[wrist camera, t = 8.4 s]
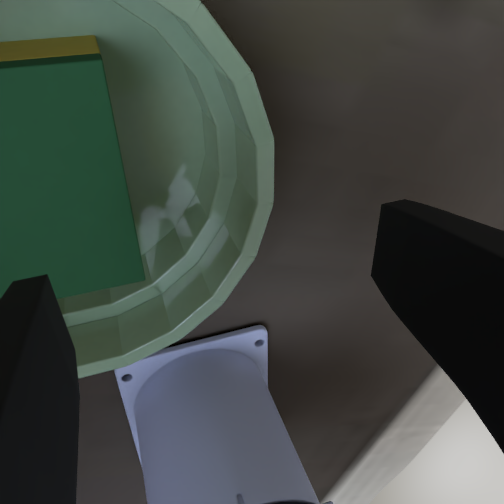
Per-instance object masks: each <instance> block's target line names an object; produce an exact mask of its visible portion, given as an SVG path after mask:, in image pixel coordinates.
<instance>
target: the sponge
mask: <svg viewBox="0 0 504 504" xmlns="http://www.w3.org/2000/svg"><path fill="white" fill-rule="evenodd" d="M45 274H48V277H49V280H50V283H51V285H52V288H53V291H54V293H55V296H56V299H60V298H65V297H70V296H75V295H79V294H84V293H89V292H93V291H98V290H103V289H108V288H112V287H117V286H122V285H126V284H131V283H136V282H140V281H145V279H146V278H145V273H144V268H143V263H142V258H141V253H140V248H139V243H138V238H137V233H136V227H135V222H134V217H133V212H132V207H131V202H130V197H129V192H128V187H127V182H126V177H125V171H124V166H123V161H122V156H121V151H120V146H119V141H118V136H117V131H116V126H115V120H114V115H113V110H112V105H111V100H110V95H109V90H108V85H107V80H106V75H105V70H104V64H103V60H102V57H101V53H100V50H99V47H98V43H97V40H96V37H95V35H86V36H73V37H60V38H46V39H33V40H20V41H7V42H0V299H1V297H2V296H3V294H4V293H5V292H6V290H7V289H8V287H9V286H10V285H11V283H12V282H13V281H17V280H21V279H26V278H31V277H36V276H41V275H45Z"/></svg>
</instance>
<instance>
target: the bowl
mask: <svg viewBox="0 0 504 504" xmlns="http://www.w3.org/2000/svg"><path fill="white" fill-rule="evenodd" d="M86 35H95V37H96V40H97V43H98V47H99V50H100V53H101V57H102V60H103V64H104V70H105V75H106V80H107V85H108V90H109V95H110V100H111V105H112V110H113V115H114V120H115V126H116V131H117V136H118V141H119V146H120V151H121V156H122V161H123V166H124V171H125V177H126V182H127V187H128V192H129V197H130V202H131V207H132V212H133V217H134V222H135V227H136V233H137V238H138V243H139V248H140V253H141V258H142V263H143V268H144V273H145V278H146V279H145V281H140V282H136V283H131V284H126V285H122V286H117V287H112V288H108V289H103V290H98V291H93V292H89V293H84V294H79V295H75V296H70V297H65V298H60V299H57V301H58V304H59V307H60V310H61V312H62V315H63V318H64V320H65V323H66V326H67V329H68V331H69V334H70V337H71V339H72V342H73V345H74V347H75V352H76V361H77V371H78V379H79V378H83V377H87V376H91V375H95V374H99V373H103V372H107V371H110V370H114V369H118V368H122V367H126V366H128V365H131V364H133V363H135V362H137V361H139V360H141V359H143V358H145V357H147V356H149V355H151V354H153V353H155V352H157V351H159V350H161V349H163V348H165V347H167V346H169V345H171V344H173V343H175V342H177V341H179V340H180V339H182V338H183V337H185V336H186V335H187V334H188V333H189V332H190V331H192V330H193V329H194V328H195V327H196V326H198V325H199V324H200V323H201V322H202V321H204V320H205V319H206V318H207V317H208V316H210V315H211V314H212V313H213V312H214V311H215V310H217V309H218V308H219V307H220V306H221V305H223V302H225V301H226V299H227V298H228V297H229V295H230V294H231V292H232V291H233V289H234V288H235V287H236V285H237V284H238V282H239V281H240V279H241V278H242V277H243V275H244V274H245V272H246V271H247V269H248V268H249V267H250V265H251V264H252V262H253V261H254V259H255V257H256V255H257V252H258V249H259V246H260V243H261V240H262V237H263V234H264V231H265V228H266V225H267V222H268V219H269V216H270V213H271V210H272V207H273V202H274V136H273V133H272V130H271V127H270V124H269V121H268V118H267V115H266V112H265V108H264V105H263V102H262V99H261V96H260V93H259V90H258V87H257V84H256V80H255V77H254V74H253V72H251V69H250V67H249V66H248V65H247V63H246V62H245V60H244V59H243V58H242V56H241V55H240V53H239V52H238V51H237V49H236V48H235V47H234V45H233V44H232V42H231V41H230V40H229V38H228V37H227V36H226V34H225V33H224V31H223V30H222V29H221V27H220V26H219V25H218V23H217V22H216V20H215V19H214V18H213V16H212V15H211V13H210V12H209V11H208V9H207V8H206V7H205V5H204V4H203V3H201V1H200V0H0V42H7V41H20V40H33V39H46V38H60V37H73V36H86Z"/></svg>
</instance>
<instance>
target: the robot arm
mask: <svg viewBox="0 0 504 504" xmlns="http://www.w3.org/2000/svg"><path fill="white" fill-rule="evenodd" d="M371 276H372V278H373V280H374V281H375V283H376V285H377V286H378V288H379V290H380V291H381V293H382V295H383V296H384V298H385V299H386V301H387V302H388V304H389V305H390V307H391V309H392V310H393V311H394V312H395V314H396V315H397V316H398V317H399V319H400V320H401V321H402V322H403V323H404V325H405V326H406V327H407V328H408V329H409V331H410V332H411V333H412V334H413V335H414V336H415V338H416V339H417V340H418V341H419V342H420V344H421V345H422V346H423V347H424V348H425V349H426V351H427V352H428V353H429V354H430V355H431V356H432V358H433V359H434V360H435V361H436V362H437V363H438V365H439V366H440V367H441V368H442V369H443V370H444V372H445V373H446V374H447V375H448V376H449V377H450V379H451V380H452V381H453V382H454V383H455V385H456V386H457V387H458V388H459V390H460V391H461V392H462V394H463V395H464V396H465V397H466V399H467V400H468V401H469V403H470V404H471V406H472V407H473V409H474V410H475V411H476V413H477V414H478V416H479V417H480V419H481V420H482V422H483V423H484V424H485V426H486V427H487V429H488V430H489V432H490V433H491V435H492V436H493V437H494V439H495V441H496V442H497V444H498V445H499V447H500V448H501V450H502V452H503V453H504V231H502V230H499V229H496V228H493V227H490V226H487V225H484V224H481V223H478V222H476V221H473V220H470V219H467V218H464V217H461V216H458V215H455V214H452V213H450V212H447V211H444V210H441V209H438V208H434V207H431V206H428V205H425V204H422V203H418V202H414V201H410V200H405V199H404V200H399V201H395V202H390V203H385V204H382V205H381V212H380V218H379V225H378V232H377V238H376V245H375V252H374V258H373V265H372V272H371ZM257 340H259V341H257ZM256 341H257V342H256ZM114 372H115V376H116V380H117V383H118V386H119V390H120V393H121V397H122V400H123V404H124V407H125V411H126V414H127V418H128V421H129V425H130V428H131V431H132V435H133V438H134V442H135V445H136V449H137V452H138V456H139V459H140V463H141V466H142V469H143V476H144V483H145V490H146V497H147V504H320V503H319V501H318V499H317V497H316V494H315V492H314V490H313V488H312V486H311V483H310V481H309V479H308V477H307V474H306V472H305V470H304V468H303V466H302V463H301V461H300V459H299V457H298V454H297V452H296V450H295V448H294V445H293V443H292V441H291V439H290V437H289V434H288V432H287V430H286V428H285V425H284V423H283V421H282V419H281V416H280V414H279V412H278V410H277V408H276V405H275V403H274V401H273V399H272V396H271V394H270V392H269V390H268V333H267V330H266V328H265V327H264V326H262V325H256V326H252V327H248V328H244V329H240V330H236V331H232V332H228V333H224V334H220V335H216V336H212V337H209V338H205V339H201V340H197V341H193V342H189V343H185V344H181V345H177V346H173V347H169V348H165V349H161V350H159V351H157V352H155V353H153V354H151V355H149V356H147V357H145V358H143V359H141V360H139V361H137V362H135V363H133V364H131V365H128V366H126V367H122V368H118V369H114ZM126 374H129V375H127V376H124V375H126ZM79 400H80V394H79V382H78V371H77V361H76V352H75V347H74V345H73V342H72V339H71V337H70V334H69V331H68V329H67V326H66V323H65V320H64V318H63V315H62V312H61V310H60V307H59V304H58V301H57V299H56V296H55V293H54V291H53V288H52V285H51V283H50V280H49V277H48V274H45V275H41V276H36V277H31V278H26V279H21V280H17V281H13V282H12V283H11V285H10V286H9V287H8V289H7V290H6V292H5V293H4V294H3V296H2V297H1V299H0V504H76V486H77V459H78V433H79ZM323 504H333V502H331V501H329V502H326V503H323Z"/></svg>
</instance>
